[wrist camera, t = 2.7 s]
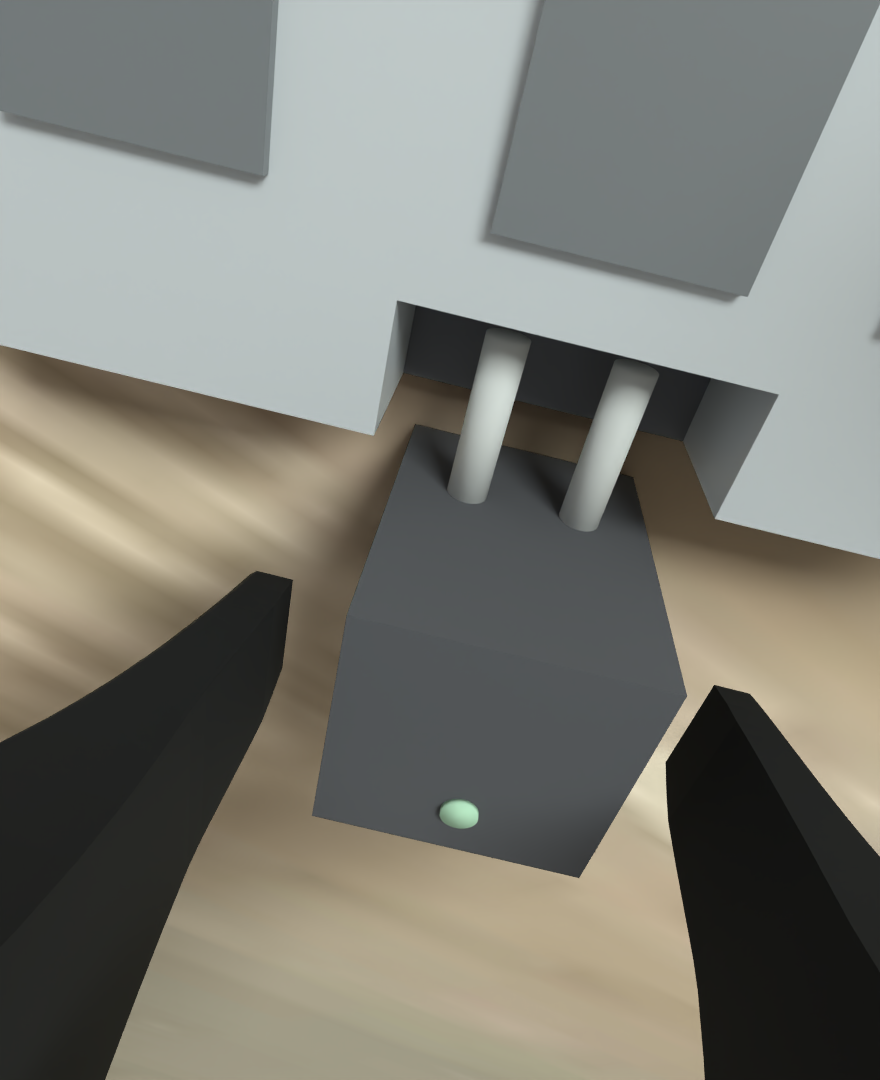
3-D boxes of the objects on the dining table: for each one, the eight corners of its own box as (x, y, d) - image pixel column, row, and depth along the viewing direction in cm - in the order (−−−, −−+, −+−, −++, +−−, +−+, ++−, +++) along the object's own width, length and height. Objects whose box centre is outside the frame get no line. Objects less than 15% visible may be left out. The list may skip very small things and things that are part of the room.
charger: (380, 592, 16) (310, 820, 11) (444, 282, 12) (379, 420, 7) (566, 636, 16) (579, 883, 11) (689, 343, 12) (796, 522, 7)
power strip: (78, 276, 13) (-86, 344, 10) (31, -268, 9) (-274, -479, 6) (997, 502, 13) (1156, 645, 10) (1334, 71, 9) (1787, 63, 6)
